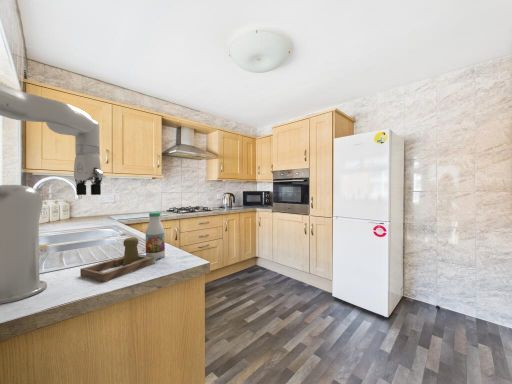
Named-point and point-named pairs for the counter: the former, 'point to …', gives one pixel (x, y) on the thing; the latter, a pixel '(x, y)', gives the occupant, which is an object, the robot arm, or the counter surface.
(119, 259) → the keyhole board
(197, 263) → the counter surface
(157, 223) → the milk bottle
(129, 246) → the cork
